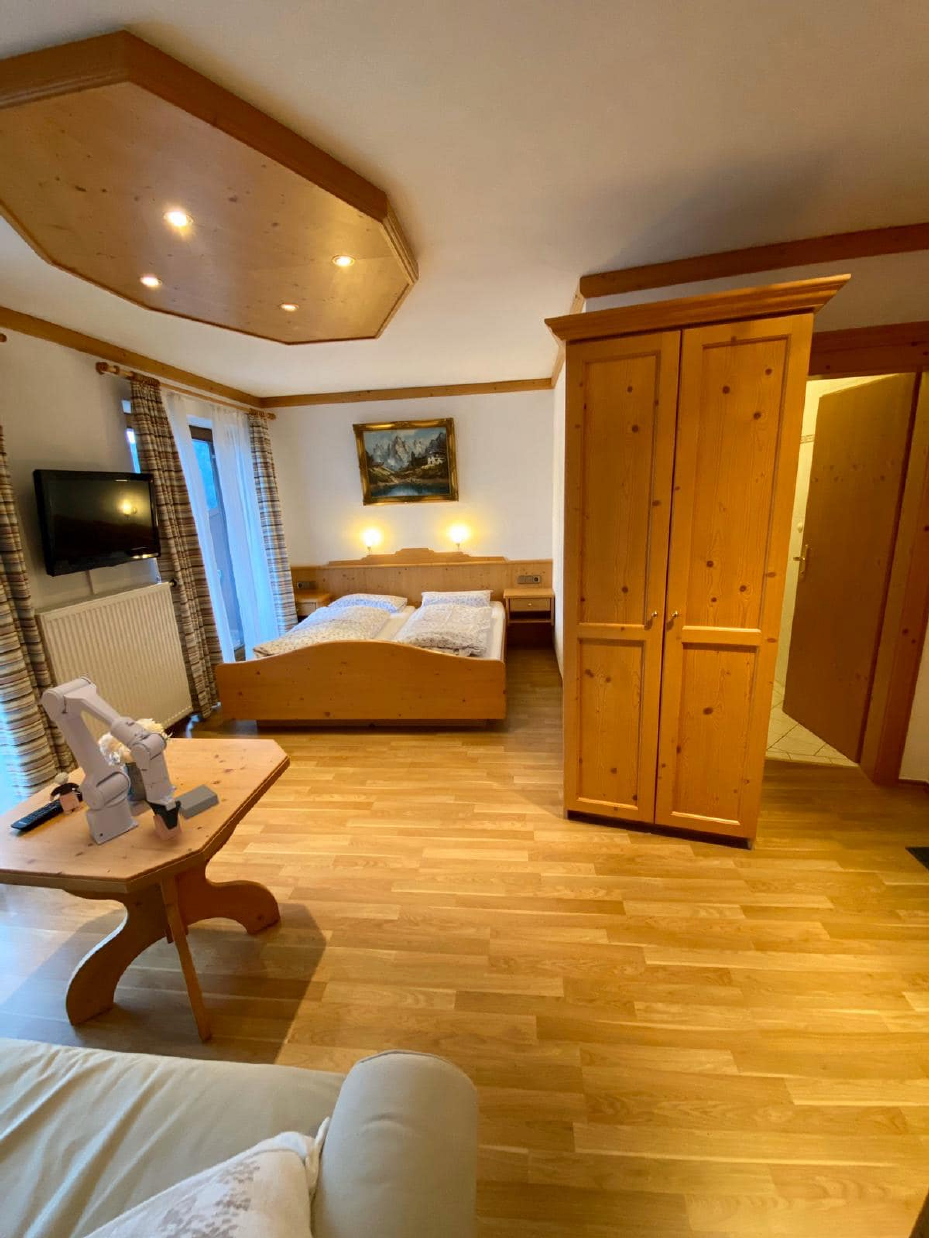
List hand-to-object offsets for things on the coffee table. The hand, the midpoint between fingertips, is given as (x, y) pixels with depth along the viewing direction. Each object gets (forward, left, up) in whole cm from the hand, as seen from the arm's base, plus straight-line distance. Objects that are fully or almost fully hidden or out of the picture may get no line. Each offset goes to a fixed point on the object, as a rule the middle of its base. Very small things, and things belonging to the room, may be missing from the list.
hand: (167, 822), depth 129 cm
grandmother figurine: (-14, +37, -4) cm, 40 cm away
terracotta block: (0, 0, -4) cm, 4 cm away
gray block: (+10, +7, -4) cm, 13 cm away
